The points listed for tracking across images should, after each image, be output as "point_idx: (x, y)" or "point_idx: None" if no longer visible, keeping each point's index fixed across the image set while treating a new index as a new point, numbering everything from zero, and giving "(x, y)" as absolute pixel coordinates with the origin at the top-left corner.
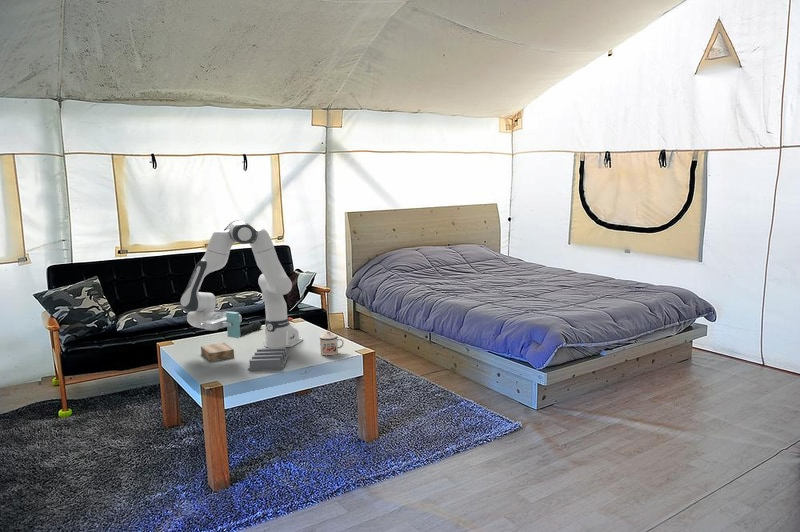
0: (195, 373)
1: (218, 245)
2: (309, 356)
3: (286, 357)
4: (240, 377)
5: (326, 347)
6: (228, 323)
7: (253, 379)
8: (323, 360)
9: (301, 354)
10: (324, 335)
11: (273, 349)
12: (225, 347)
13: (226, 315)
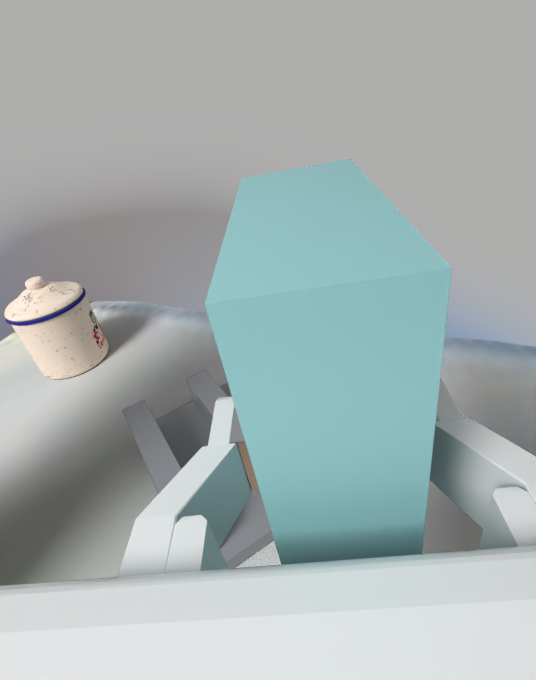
0: None
1: None
2: (120, 383)
3: (185, 405)
4: (507, 389)
5: (96, 320)
6: (451, 414)
7: (467, 343)
8: (161, 331)
9: (92, 421)
10: (56, 291)
11: (165, 440)
12: None
13: (438, 372)
